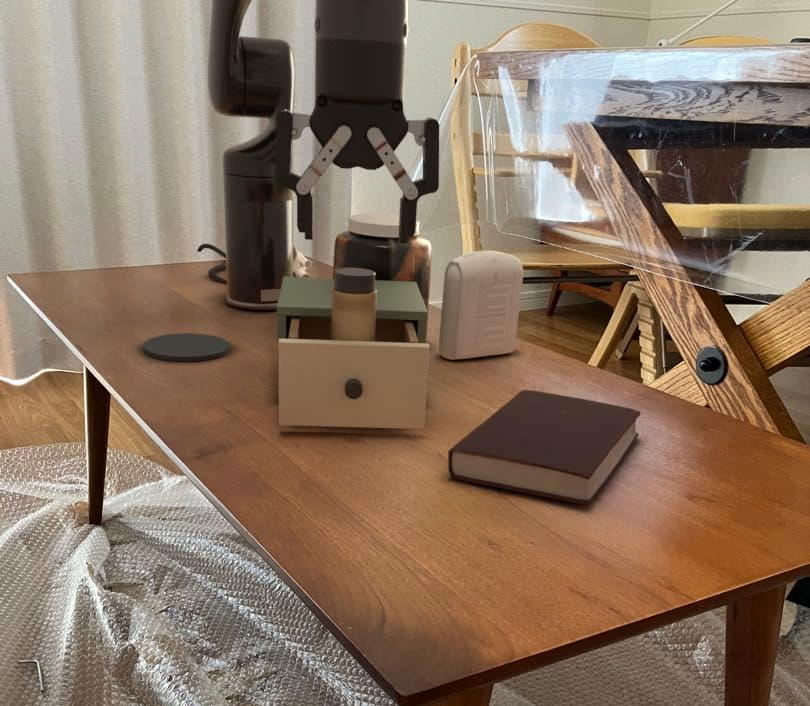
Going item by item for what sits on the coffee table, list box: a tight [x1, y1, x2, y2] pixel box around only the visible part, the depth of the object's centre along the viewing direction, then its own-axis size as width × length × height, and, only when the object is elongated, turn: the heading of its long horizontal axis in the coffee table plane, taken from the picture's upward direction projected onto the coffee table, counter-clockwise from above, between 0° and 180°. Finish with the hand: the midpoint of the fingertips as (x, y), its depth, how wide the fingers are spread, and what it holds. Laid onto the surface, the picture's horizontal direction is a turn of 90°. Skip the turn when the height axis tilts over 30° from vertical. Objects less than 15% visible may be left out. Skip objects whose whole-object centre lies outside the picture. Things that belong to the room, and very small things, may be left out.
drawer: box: [278, 316, 431, 430], centre depth 89 cm, size 14×14×8 cm
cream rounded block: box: [438, 249, 524, 361], centre depth 110 cm, size 10×4×12 cm, turn 123°
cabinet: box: [276, 276, 429, 403], centre depth 98 cm, size 14×15×10 cm
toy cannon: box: [293, 244, 313, 278], centre depth 146 cm, size 8×14×5 cm
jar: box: [332, 213, 432, 340], centre depth 111 cm, size 12×12×15 cm
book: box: [447, 389, 642, 505], centre depth 83 cm, size 12×19×3 cm, turn 155°
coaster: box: [142, 332, 231, 363], centre depth 108 cm, size 10×10×1 cm
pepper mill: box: [331, 268, 377, 342], centre depth 87 cm, size 4×4×12 cm
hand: (355, 240), depth 83 cm, fingers open, 8 cm apart
